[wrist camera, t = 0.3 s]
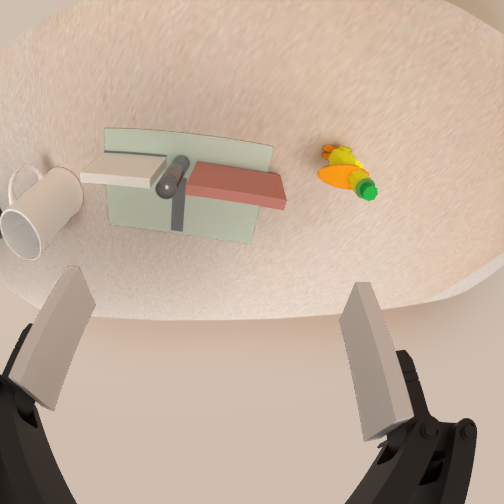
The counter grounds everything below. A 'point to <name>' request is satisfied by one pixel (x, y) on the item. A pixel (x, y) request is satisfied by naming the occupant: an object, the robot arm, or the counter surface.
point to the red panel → (236, 185)
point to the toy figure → (346, 172)
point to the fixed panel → (124, 170)
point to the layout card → (184, 185)
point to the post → (172, 177)
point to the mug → (39, 211)
